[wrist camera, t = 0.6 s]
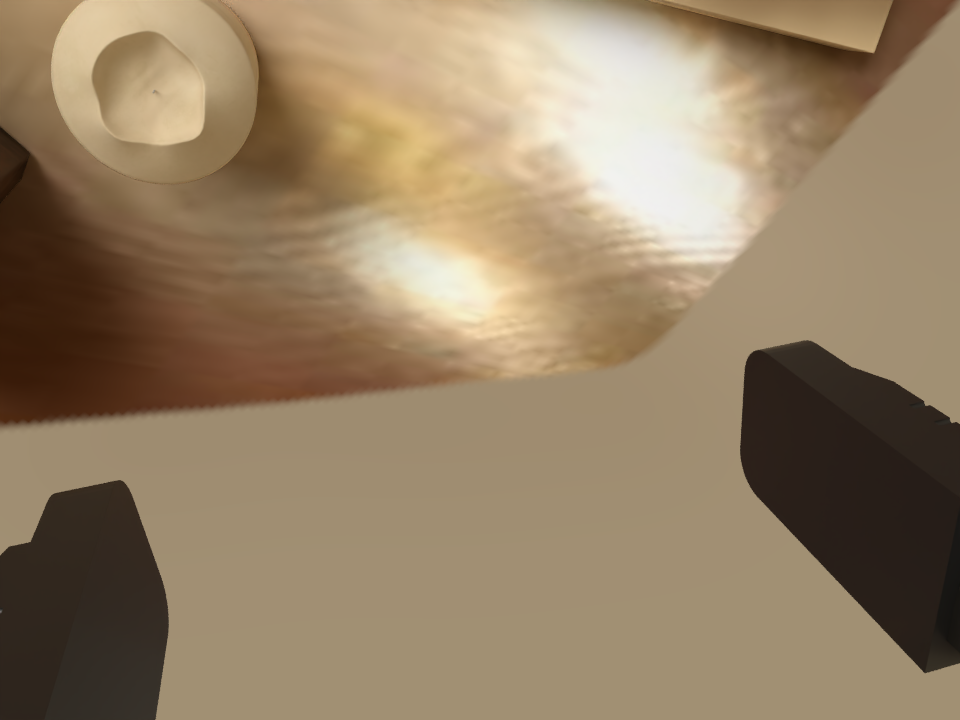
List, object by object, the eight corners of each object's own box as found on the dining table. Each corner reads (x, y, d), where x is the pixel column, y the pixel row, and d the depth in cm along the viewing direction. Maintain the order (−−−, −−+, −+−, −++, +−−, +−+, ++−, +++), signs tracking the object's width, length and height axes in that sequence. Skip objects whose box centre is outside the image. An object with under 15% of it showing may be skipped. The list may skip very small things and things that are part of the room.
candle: (289, 75, 32) (298, 108, 23) (185, 167, 32) (155, 234, 23) (181, -50, 29) (145, -68, 20) (71, 52, 30) (-12, 78, 21)
